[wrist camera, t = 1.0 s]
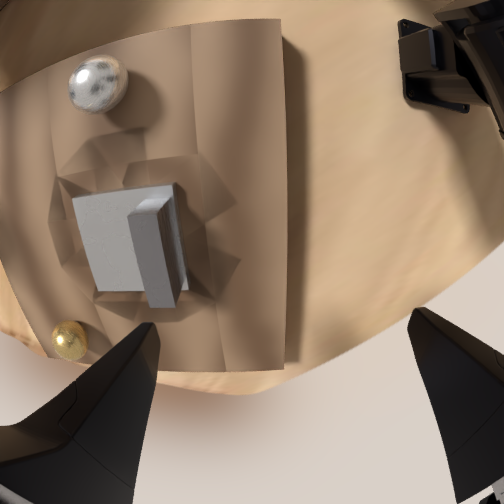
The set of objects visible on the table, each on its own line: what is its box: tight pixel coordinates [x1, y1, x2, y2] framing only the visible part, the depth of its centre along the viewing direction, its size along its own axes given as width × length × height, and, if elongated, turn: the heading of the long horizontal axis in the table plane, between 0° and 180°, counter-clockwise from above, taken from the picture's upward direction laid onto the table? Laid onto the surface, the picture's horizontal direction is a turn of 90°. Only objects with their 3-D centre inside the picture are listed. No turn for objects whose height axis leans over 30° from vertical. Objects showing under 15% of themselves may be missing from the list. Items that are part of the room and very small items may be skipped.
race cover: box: [72, 182, 191, 308], centre depth 16 cm, size 7×7×4 cm
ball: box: [67, 55, 128, 115], centre depth 12 cm, size 4×4×4 cm
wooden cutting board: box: [0, 19, 287, 372], centre depth 19 cm, size 25×26×2 cm
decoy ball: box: [52, 320, 89, 360], centre depth 20 cm, size 4×4×4 cm
